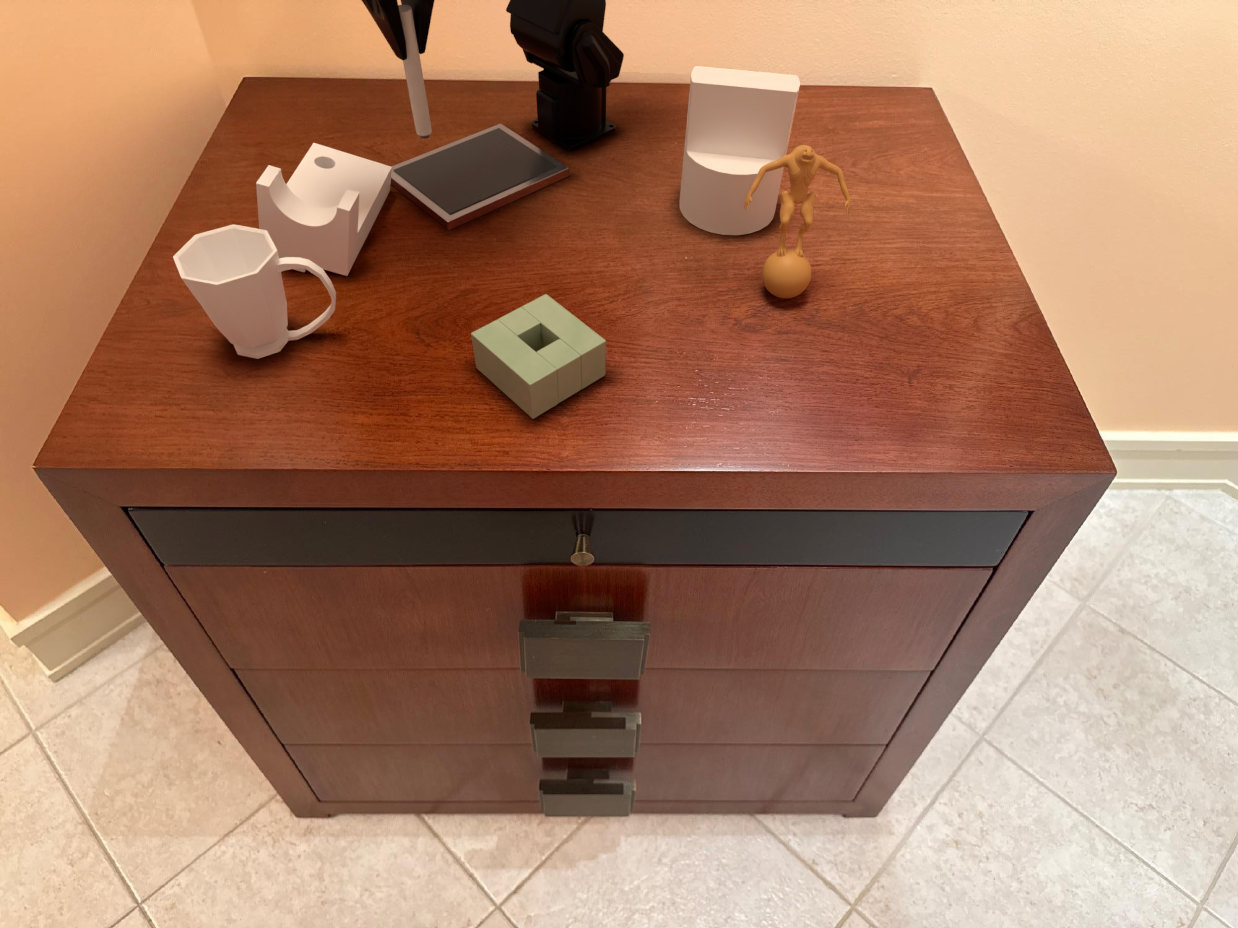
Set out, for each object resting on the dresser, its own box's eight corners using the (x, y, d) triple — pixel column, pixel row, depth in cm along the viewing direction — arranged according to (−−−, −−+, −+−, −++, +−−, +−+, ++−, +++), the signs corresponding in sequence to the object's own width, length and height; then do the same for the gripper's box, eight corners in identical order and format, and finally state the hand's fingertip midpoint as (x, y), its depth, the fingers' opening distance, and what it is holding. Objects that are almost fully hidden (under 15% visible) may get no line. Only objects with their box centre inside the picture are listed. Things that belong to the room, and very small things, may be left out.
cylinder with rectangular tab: (776, 186, 78) (800, 59, 69) (773, 240, 73) (799, 110, 63) (684, 176, 79) (696, 50, 70) (674, 229, 73) (685, 99, 64)
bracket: (346, 284, 69) (349, 211, 63) (261, 260, 67) (256, 183, 62) (389, 199, 77) (394, 127, 71) (313, 176, 76) (313, 101, 70)
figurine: (734, 306, 67) (757, 173, 57) (730, 261, 70) (750, 130, 61) (834, 310, 67) (873, 178, 57) (825, 265, 70) (860, 135, 61)
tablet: (501, 131, 84) (500, 122, 83) (569, 176, 78) (569, 166, 78) (383, 178, 77) (381, 169, 77) (449, 230, 72) (447, 220, 72)
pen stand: (547, 328, 64) (545, 293, 62) (605, 375, 61) (606, 340, 58) (475, 368, 61) (470, 333, 59) (532, 419, 58) (529, 385, 55)
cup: (222, 313, 64) (182, 226, 58) (350, 304, 66) (324, 218, 59) (206, 374, 60) (161, 287, 54) (344, 363, 61) (315, 277, 55)
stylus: (426, 130, 72) (404, 3, 64) (436, 137, 71) (415, 8, 63) (413, 136, 71) (389, 7, 63) (422, 142, 71) (399, 13, 62)
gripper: (304, -128, 46) (365, 132, 58) (554, -182, 54) (562, 55, 66) (214, -171, 51) (287, 77, 63) (455, -214, 59) (479, 12, 71)
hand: (410, 55), depth 66 cm, fingers closed on stylus, 1 cm apart
